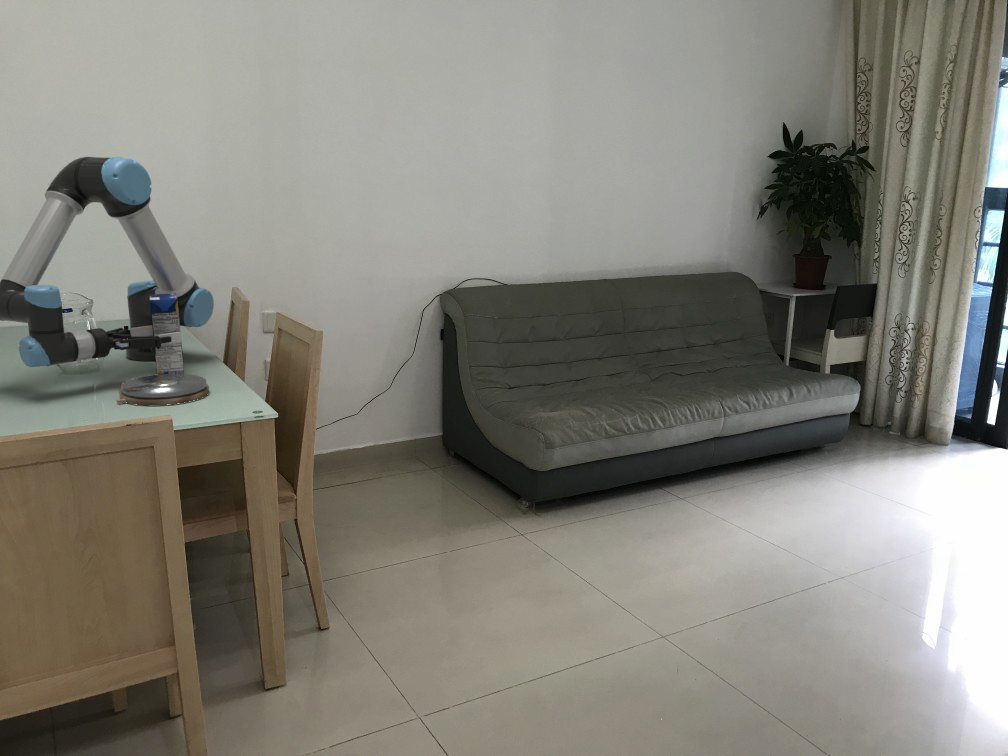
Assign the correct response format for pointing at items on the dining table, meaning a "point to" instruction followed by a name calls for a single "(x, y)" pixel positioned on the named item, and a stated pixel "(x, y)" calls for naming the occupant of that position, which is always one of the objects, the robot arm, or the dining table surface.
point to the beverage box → (166, 333)
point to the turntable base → (162, 401)
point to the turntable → (163, 386)
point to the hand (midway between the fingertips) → (166, 333)
